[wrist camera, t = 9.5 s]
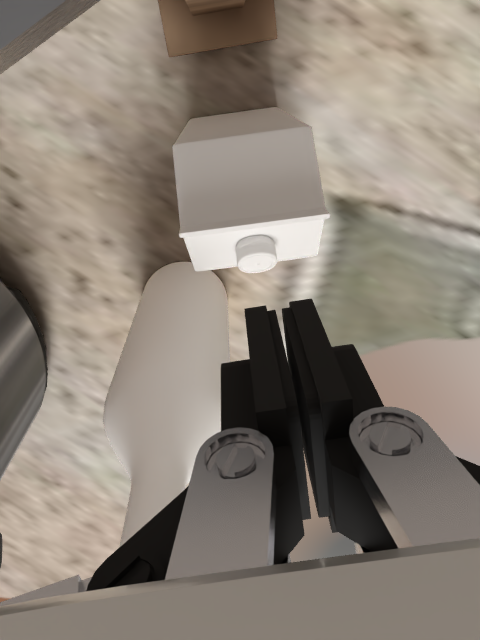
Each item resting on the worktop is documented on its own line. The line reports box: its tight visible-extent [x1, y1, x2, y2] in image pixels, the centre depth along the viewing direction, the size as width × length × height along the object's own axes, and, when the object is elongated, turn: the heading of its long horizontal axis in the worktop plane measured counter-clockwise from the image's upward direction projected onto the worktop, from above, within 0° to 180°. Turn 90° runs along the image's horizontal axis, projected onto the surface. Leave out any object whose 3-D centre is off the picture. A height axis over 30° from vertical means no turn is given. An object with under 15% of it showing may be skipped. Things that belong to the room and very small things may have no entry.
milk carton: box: [172, 107, 330, 273], centre depth 30 cm, size 7×7×19 cm
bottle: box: [103, 262, 230, 548], centre depth 31 cm, size 8×8×30 cm
